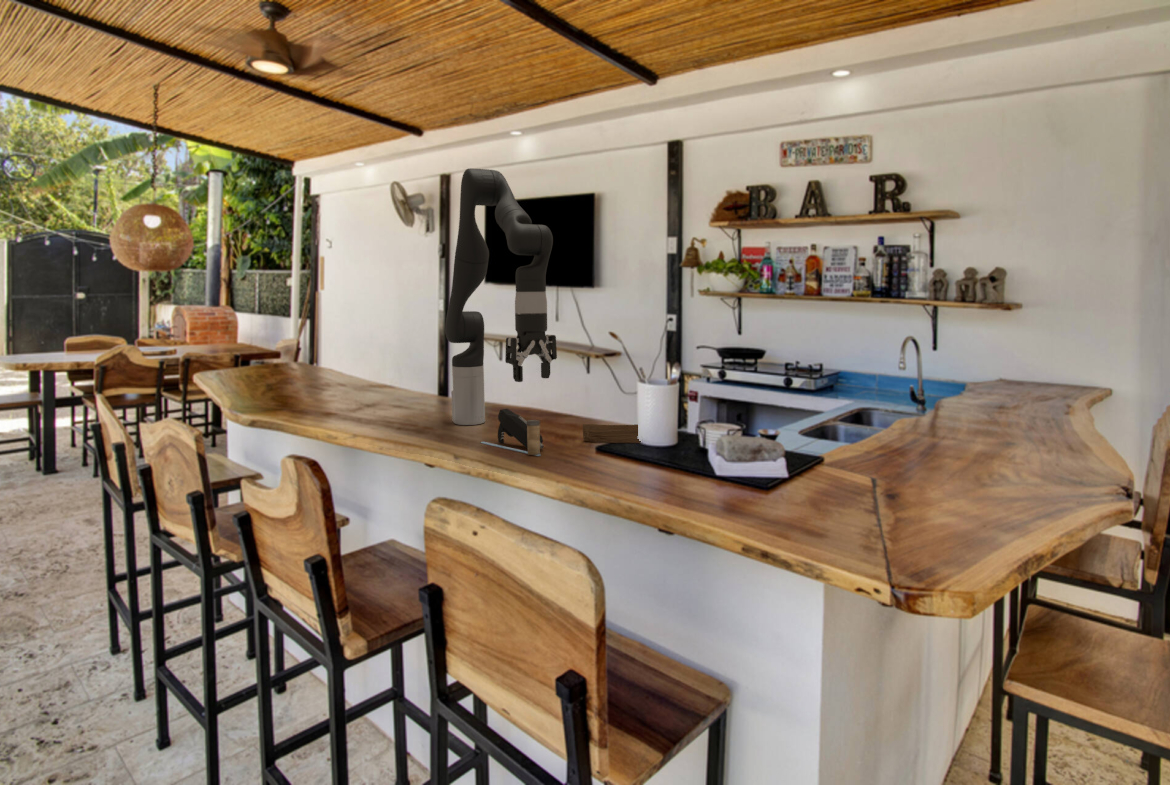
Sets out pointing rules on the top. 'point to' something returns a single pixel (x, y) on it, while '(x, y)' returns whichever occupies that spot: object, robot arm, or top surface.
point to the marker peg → (533, 437)
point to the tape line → (507, 448)
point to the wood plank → (611, 433)
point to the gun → (513, 427)
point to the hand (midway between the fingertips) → (532, 379)
